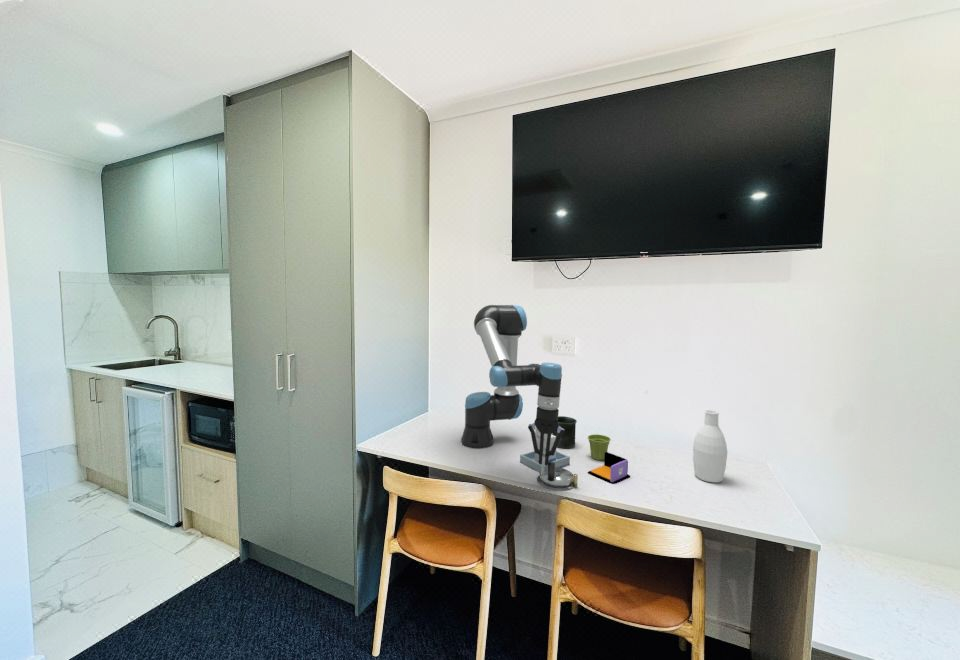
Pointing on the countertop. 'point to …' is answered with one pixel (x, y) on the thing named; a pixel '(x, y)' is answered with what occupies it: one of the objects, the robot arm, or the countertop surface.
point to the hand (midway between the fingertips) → (542, 473)
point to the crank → (556, 476)
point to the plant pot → (598, 446)
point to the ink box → (544, 445)
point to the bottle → (710, 450)
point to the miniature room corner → (612, 469)
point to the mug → (566, 432)
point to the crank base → (560, 488)
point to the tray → (530, 461)
